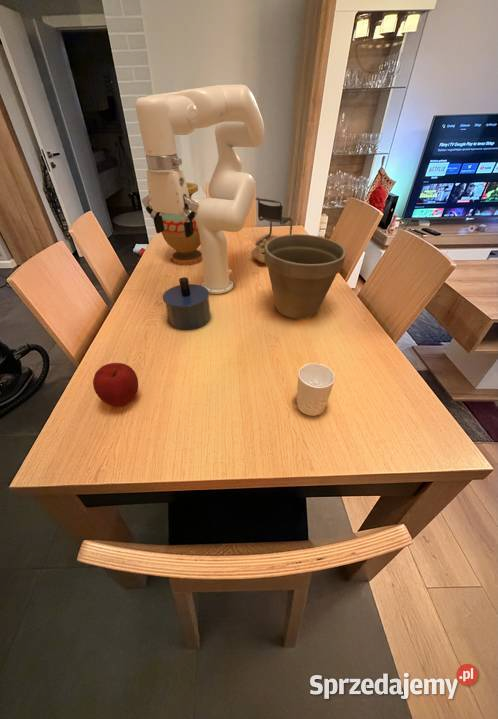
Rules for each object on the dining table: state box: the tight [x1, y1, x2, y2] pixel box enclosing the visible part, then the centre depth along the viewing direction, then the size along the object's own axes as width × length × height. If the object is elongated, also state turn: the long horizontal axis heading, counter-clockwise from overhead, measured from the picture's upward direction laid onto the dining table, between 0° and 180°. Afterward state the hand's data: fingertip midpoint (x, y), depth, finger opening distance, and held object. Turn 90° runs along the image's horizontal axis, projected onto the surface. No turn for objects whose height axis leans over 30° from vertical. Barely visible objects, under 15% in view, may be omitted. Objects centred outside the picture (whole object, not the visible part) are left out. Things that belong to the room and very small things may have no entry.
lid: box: [162, 276, 210, 308], centre depth 94 cm, size 15×15×6 cm
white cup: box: [296, 362, 336, 417], centre depth 69 cm, size 8×8×10 cm
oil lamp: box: [251, 238, 268, 264], centre depth 135 cm, size 11×15×8 cm
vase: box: [160, 182, 202, 266], centre depth 131 cm, size 20×20×30 cm
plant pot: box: [264, 233, 347, 320], centre depth 99 cm, size 25×25×22 cm
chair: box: [255, 196, 293, 246], centre depth 149 cm, size 13×17×22 cm
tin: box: [165, 297, 211, 331], centre depth 98 cm, size 14×14×8 cm
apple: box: [92, 362, 139, 408], centre depth 70 cm, size 10×10×10 cm
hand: (174, 233), depth 85 cm, fingers open, 9 cm apart
